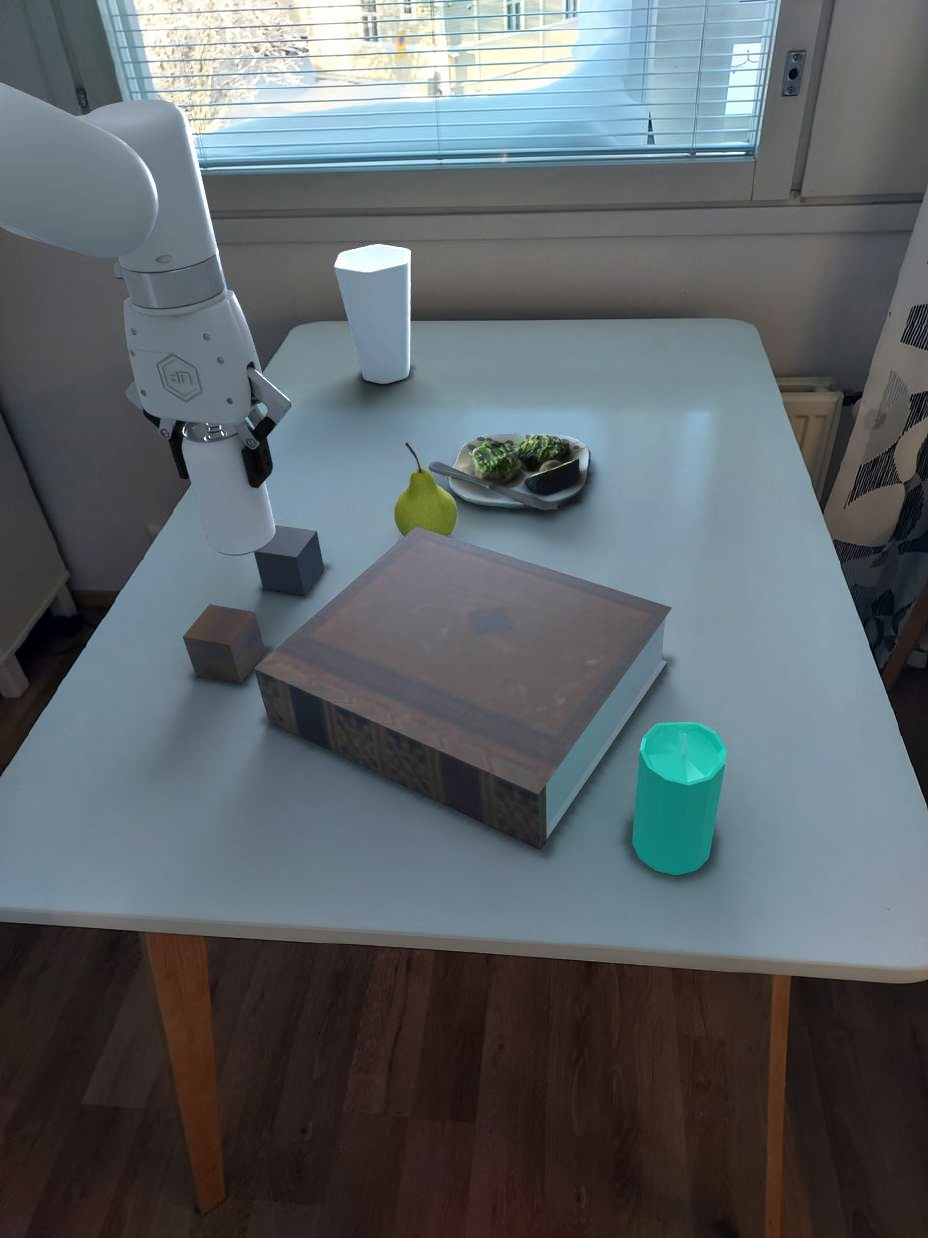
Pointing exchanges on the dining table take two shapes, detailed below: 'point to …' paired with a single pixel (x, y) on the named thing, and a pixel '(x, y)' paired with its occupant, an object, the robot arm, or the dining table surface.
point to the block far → (290, 560)
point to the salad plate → (519, 470)
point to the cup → (378, 308)
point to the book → (469, 678)
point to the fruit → (425, 505)
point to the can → (226, 490)
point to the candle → (677, 796)
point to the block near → (224, 643)
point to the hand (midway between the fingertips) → (226, 474)
